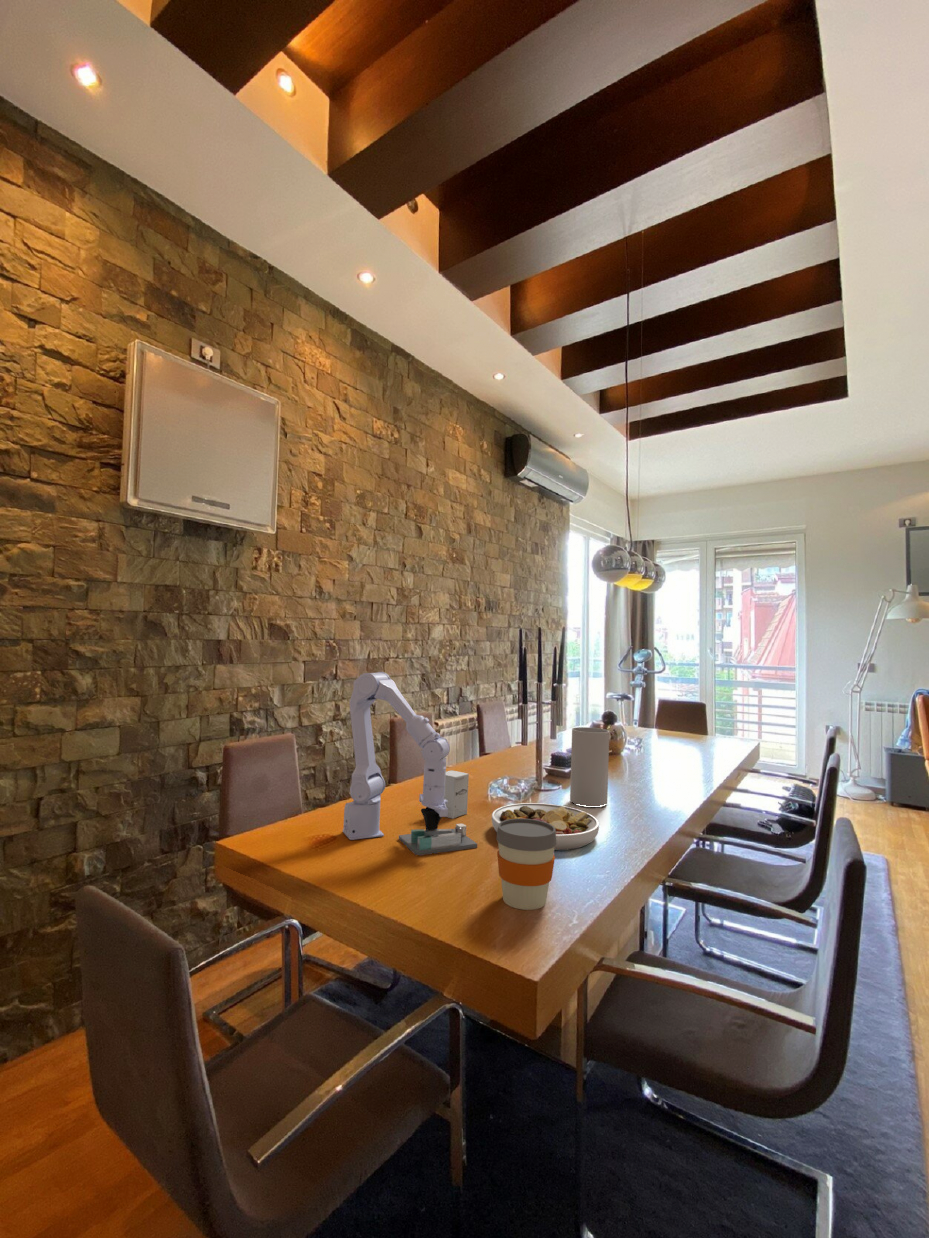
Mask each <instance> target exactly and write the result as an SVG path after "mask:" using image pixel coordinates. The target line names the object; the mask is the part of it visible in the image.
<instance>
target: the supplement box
mask: <svg viewBox="0 0 929 1238" xmlns="http://www.w3.org/2000/svg"><path fill="white" fill-rule="evenodd" d="M469 777H470V775H469V773H466V772H463V771H462V772H461V771H456V770H452V769H451V770H448V771H447V770H446V775H445V793H444V799H446V800H447V801H448V804H445V805H446V808H447V809H448V816H446V817H445V818H449V819H452V820H453V819H456V818H458V817H461V816H463V815H467V814H468V801H469V799H468V796H469Z"/></svg>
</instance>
